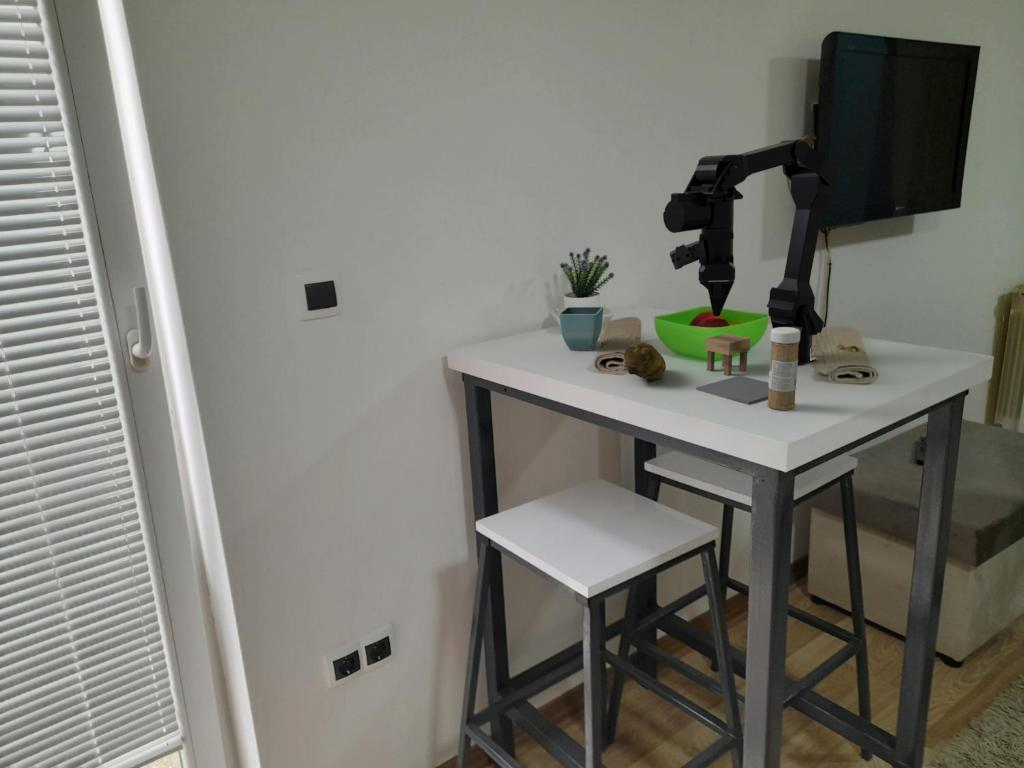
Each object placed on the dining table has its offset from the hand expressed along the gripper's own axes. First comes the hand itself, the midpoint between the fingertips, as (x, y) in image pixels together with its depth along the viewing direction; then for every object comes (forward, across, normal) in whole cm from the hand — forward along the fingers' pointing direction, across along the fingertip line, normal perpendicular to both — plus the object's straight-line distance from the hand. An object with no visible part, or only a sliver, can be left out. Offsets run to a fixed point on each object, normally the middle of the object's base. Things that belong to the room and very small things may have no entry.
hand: (716, 310), depth 139 cm
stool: (+13, -6, +2) cm, 15 cm away
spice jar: (+13, +17, +11) cm, 24 cm away
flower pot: (+13, -22, -30) cm, 40 cm away
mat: (+13, +8, +5) cm, 16 cm away
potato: (+13, +2, -13) cm, 19 cm away
